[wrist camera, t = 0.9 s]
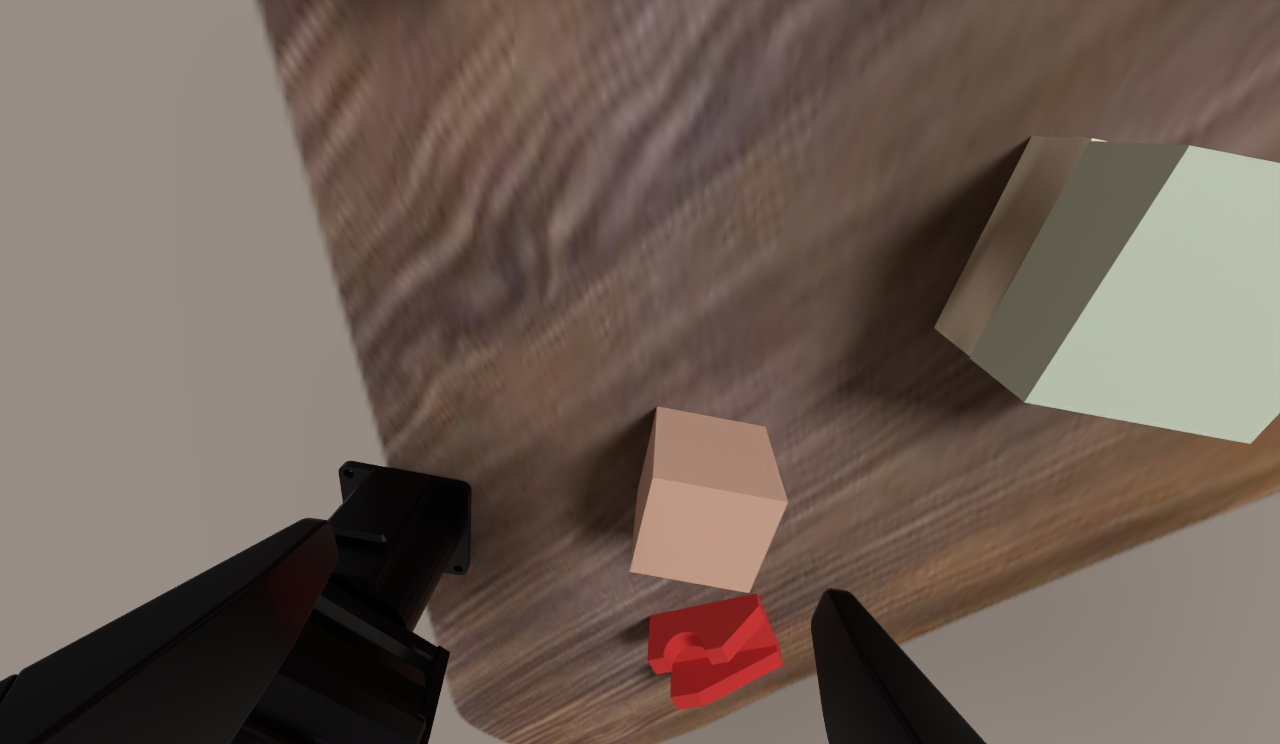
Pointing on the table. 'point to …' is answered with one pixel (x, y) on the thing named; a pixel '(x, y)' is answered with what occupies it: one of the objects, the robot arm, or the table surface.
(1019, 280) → the tower top
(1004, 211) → the block
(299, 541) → the robot arm
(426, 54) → the table surface
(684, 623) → the bracket
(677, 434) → the tan block
